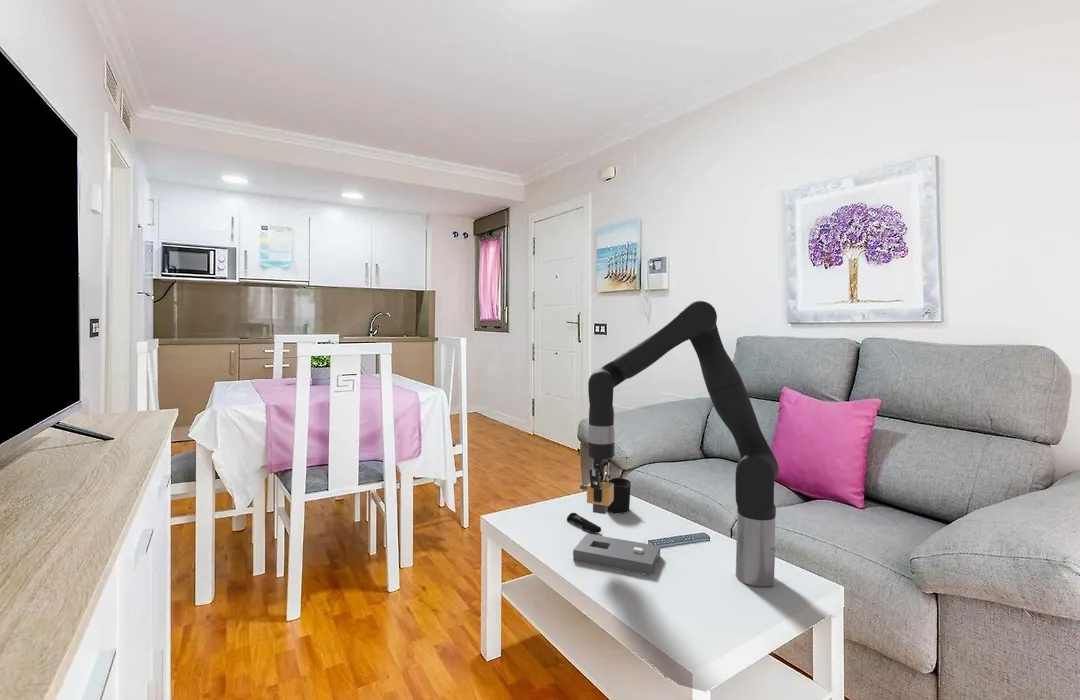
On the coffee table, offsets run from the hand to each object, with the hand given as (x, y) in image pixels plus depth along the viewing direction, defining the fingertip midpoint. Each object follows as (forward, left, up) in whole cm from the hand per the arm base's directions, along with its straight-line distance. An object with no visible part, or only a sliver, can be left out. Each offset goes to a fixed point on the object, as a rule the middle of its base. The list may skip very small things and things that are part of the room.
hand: (600, 498), depth 149 cm
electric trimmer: (+11, -18, -17) cm, 27 cm away
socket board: (-5, 0, -17) cm, 17 cm away
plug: (+1, 0, -4) cm, 4 cm away
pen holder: (+5, -37, -17) cm, 41 cm away
